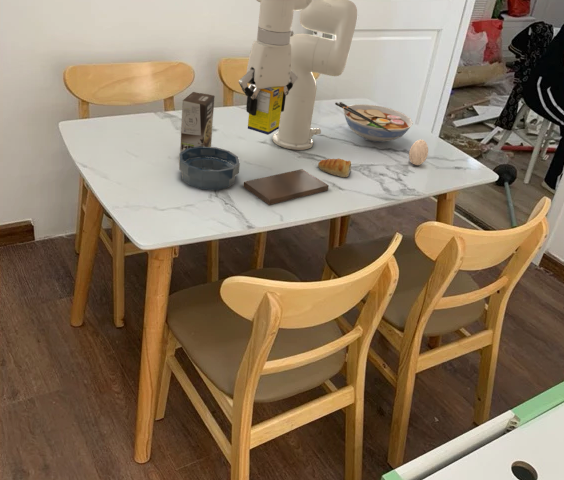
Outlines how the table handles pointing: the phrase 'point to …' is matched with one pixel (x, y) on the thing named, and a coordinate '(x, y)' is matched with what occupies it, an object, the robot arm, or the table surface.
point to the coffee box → (197, 120)
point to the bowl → (208, 167)
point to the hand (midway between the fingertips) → (265, 111)
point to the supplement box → (267, 110)
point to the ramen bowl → (376, 121)
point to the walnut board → (285, 186)
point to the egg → (418, 152)
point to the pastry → (335, 167)
